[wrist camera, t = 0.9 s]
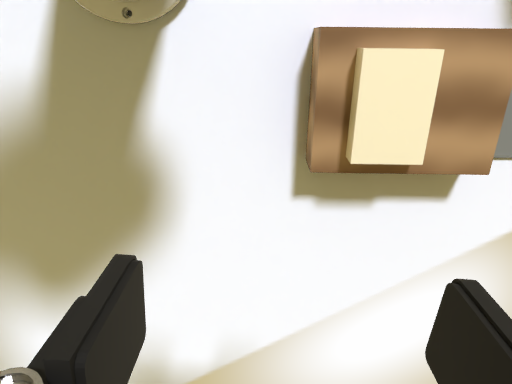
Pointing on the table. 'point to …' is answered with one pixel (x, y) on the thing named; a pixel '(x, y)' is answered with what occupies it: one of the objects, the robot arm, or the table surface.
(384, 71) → the block
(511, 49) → the brown wooden slab
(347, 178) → the table surface
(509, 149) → the mat
